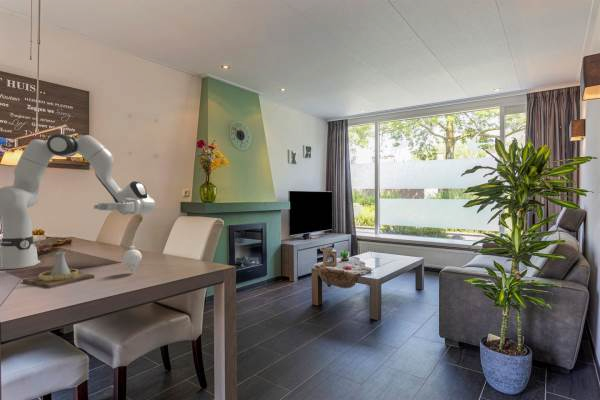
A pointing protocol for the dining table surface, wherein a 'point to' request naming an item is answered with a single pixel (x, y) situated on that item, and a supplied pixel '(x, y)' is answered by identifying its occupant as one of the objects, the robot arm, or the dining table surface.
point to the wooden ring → (46, 275)
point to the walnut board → (57, 283)
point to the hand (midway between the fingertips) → (101, 207)
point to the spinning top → (132, 258)
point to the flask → (60, 265)
